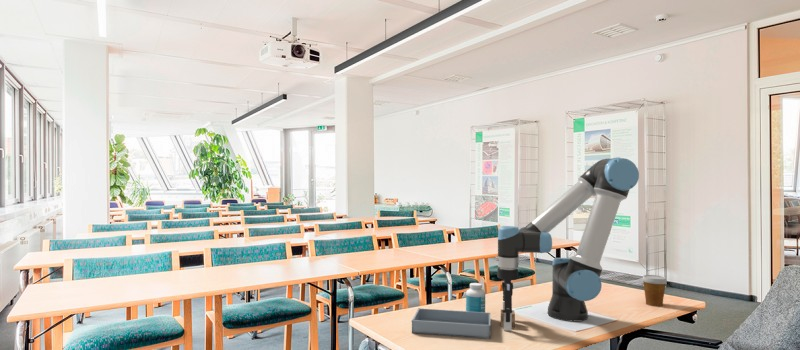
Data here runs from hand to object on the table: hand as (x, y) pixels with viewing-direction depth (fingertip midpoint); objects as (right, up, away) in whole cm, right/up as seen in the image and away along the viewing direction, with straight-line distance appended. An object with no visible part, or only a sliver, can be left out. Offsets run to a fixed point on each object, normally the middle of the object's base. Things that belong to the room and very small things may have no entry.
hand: (506, 324), depth 174 cm
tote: (-21, 0, -5) cm, 22 cm away
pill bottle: (-11, 0, +7) cm, 13 cm away
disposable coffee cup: (+71, -1, +29) cm, 77 cm away
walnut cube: (0, 0, 0) cm, 0 cm away
